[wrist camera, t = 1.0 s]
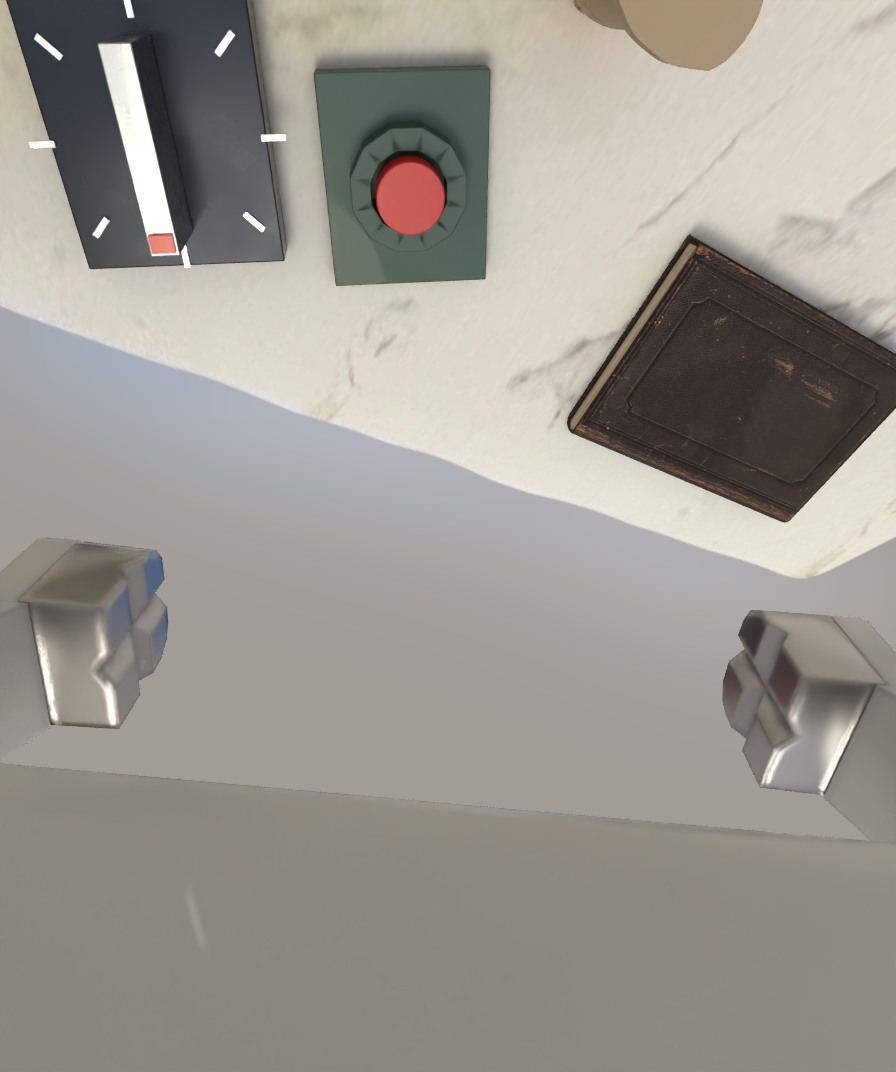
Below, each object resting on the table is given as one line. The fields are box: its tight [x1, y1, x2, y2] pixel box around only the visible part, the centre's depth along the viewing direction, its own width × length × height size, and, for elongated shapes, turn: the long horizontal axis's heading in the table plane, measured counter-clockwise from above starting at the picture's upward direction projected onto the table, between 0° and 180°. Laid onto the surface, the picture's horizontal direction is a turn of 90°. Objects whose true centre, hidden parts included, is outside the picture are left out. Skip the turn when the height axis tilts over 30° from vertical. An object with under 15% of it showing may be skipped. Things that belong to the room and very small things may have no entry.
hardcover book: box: [567, 235, 896, 522], centre depth 58 cm, size 16×23×2 cm
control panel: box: [6, 0, 287, 269], centre depth 43 cm, size 14×14×3 cm
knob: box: [97, 34, 193, 256], centre depth 40 cm, size 10×2×5 cm, turn 0°
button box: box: [314, 66, 490, 286], centre depth 45 cm, size 12×10×4 cm
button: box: [376, 155, 445, 235], centre depth 43 cm, size 4×4×2 cm
